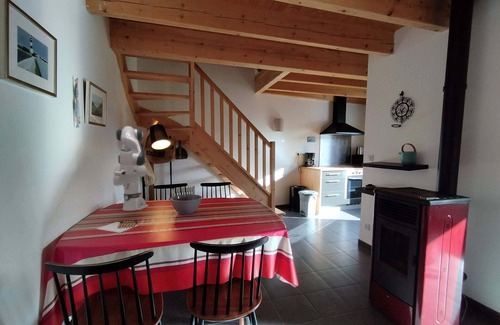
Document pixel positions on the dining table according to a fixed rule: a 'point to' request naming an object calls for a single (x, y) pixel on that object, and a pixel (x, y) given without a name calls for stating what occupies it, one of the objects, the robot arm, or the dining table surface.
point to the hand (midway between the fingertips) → (126, 189)
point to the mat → (115, 227)
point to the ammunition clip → (127, 223)
